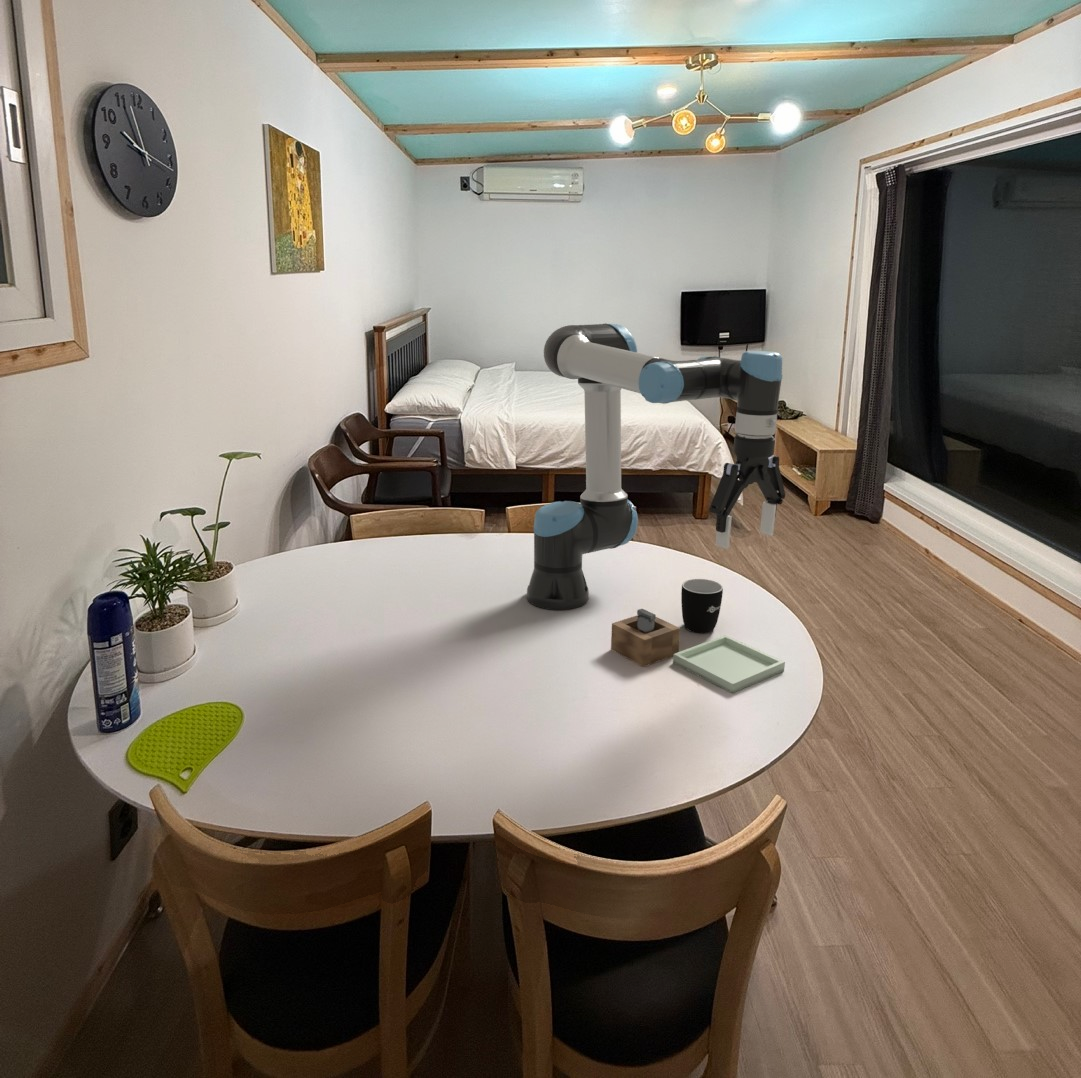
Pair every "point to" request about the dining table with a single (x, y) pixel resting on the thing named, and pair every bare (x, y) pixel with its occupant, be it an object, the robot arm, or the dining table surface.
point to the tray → (728, 663)
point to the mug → (701, 604)
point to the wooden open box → (645, 641)
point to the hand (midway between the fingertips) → (744, 540)
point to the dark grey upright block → (645, 621)
